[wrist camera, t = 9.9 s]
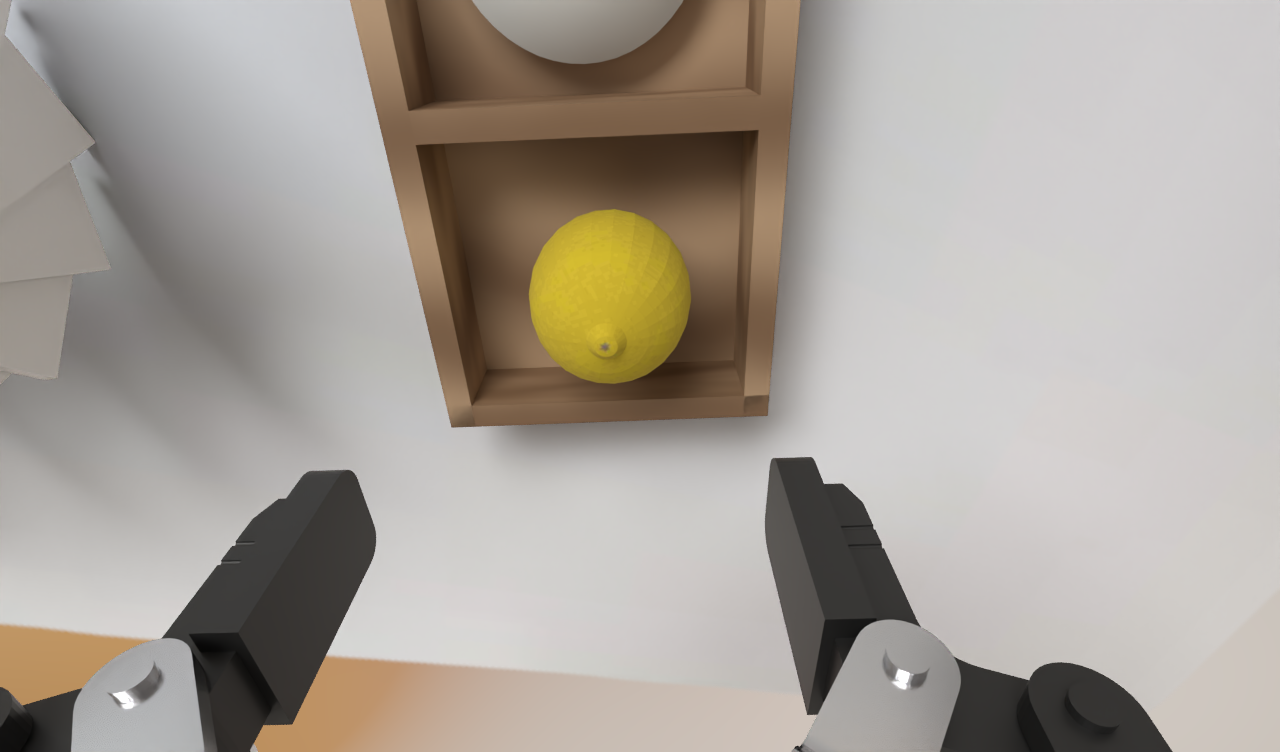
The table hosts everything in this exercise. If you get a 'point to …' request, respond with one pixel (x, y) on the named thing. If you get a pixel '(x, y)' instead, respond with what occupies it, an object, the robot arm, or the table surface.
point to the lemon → (609, 296)
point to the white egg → (578, 26)
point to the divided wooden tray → (587, 194)
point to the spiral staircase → (38, 217)
